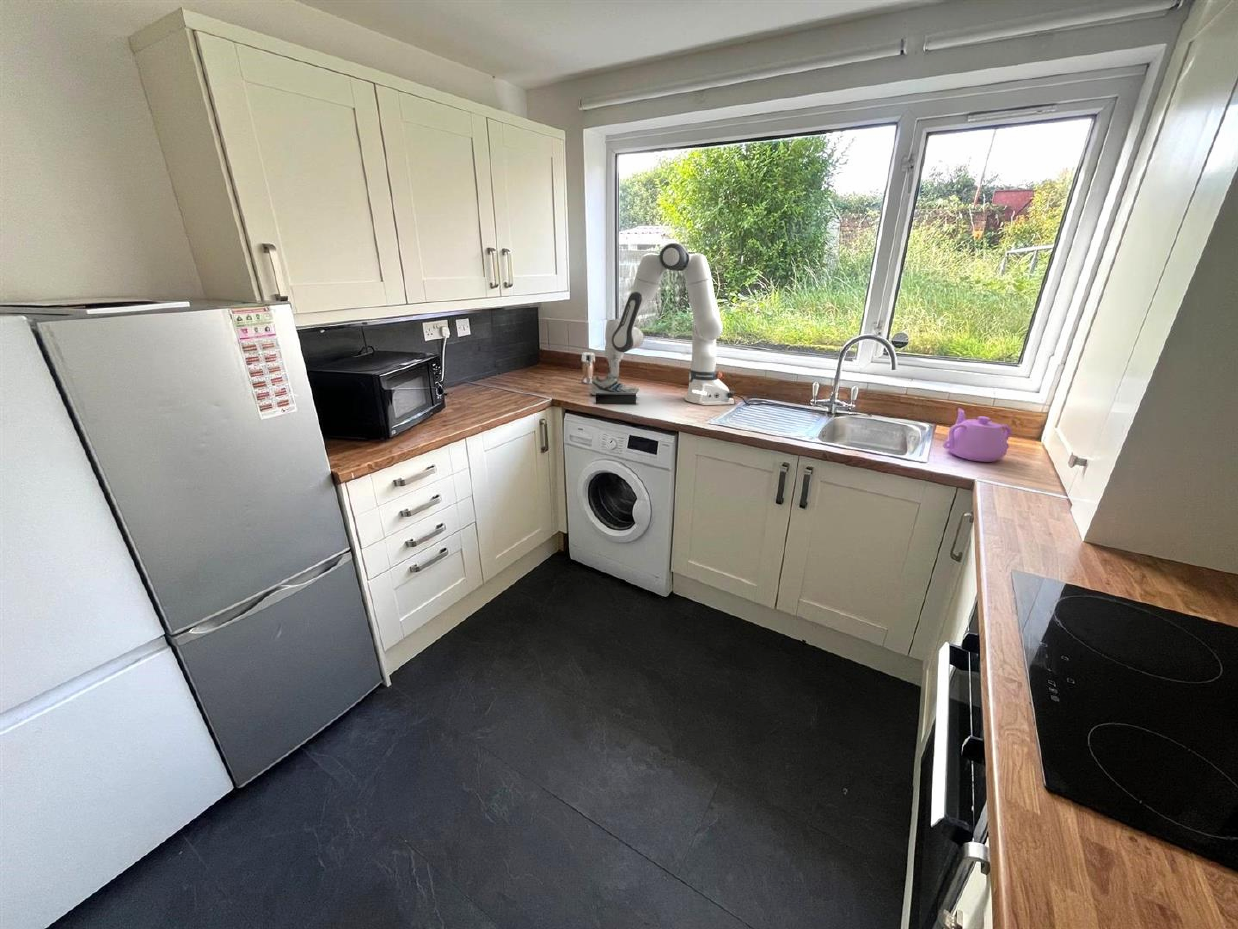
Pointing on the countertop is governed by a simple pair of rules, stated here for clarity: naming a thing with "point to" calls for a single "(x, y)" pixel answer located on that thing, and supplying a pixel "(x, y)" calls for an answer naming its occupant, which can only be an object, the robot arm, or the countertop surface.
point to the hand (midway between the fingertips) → (613, 382)
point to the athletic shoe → (610, 385)
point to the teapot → (977, 439)
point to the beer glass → (588, 367)
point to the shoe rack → (615, 397)
